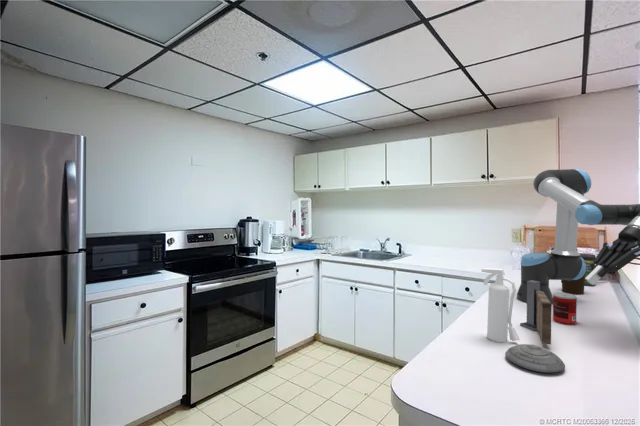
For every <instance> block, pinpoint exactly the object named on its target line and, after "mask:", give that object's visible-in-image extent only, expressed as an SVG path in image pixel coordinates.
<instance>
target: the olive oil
mask: <svg viewBox="0 0 640 426" xmlns="http://www.w3.org/2000/svg"><path fill="white" fill-rule="evenodd" d="M576 250H577V251H578V248H577V249H576ZM584 263H585V262H584ZM560 282H561V291H562V293H568V294H572V295H575V296H577V295H578V296H579V295H582V296H583V295H584V293H585V285H584V283H585V274H584V275H583V277H581V278H580V279H578V280H560Z"/></svg>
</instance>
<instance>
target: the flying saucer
mask: <svg viewBox="0 0 640 426" xmlns="http://www.w3.org/2000/svg"><path fill="white" fill-rule="evenodd" d="M504 354H505V357H506V358H507V359H508V360H509V361H510V362H512V363H513V364H515V365H517V366H519V367H521V368H524V369H527V370H530V371H534V372H539V373H559V372H562V371H564V370H565V368H566V364H565V363H564V361H563V360H562V359H561V357H559V355H557V354H556V353H554V352H553V351H550V350H549V349H548V348H545V347H541V346H539V345H535V344H530V343H529V344H527V343H523V344H521V343H520V344H516V345H513V346H511V347H508V349H507V350H506V351H505V353H504Z"/></svg>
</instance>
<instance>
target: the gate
mask: <svg viewBox="0 0 640 426" xmlns="http://www.w3.org/2000/svg"><path fill="white" fill-rule="evenodd" d="M536 296H537V329H538V333H539V336H540V340H541V344H545V345H548V346H549V345H552V304H551V303H550V301H549V300H548V298H547V296H546V295H545V293H544V292H542V291H539V290H538V291H536Z"/></svg>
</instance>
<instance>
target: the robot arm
mask: <svg viewBox="0 0 640 426" xmlns="http://www.w3.org/2000/svg"><path fill="white" fill-rule="evenodd" d="M591 188H592V179H591V176H590V175H589V174H588V172H587V171H585V170H583V169H576V168H571V169H568V168H567V169H547V170H544V171H543V170H542V171H541V172H540V173H538V174H537V175H536V176H535V178H534V180H533V189H534V190H535V192H537V193H538V194H539V195H540V196H542V197H548V198H550V199H551V200H553V201H554V202H556V215H555V216H556V219H555V235H554V236H555V237H554V248H553V249H552V250H550V255H549V253H546V252H532V253H531V252H529V253H526V254H523V255H522V256H521V260H520V285H519V288H518V291H516V292H517V293H516V299H517V300H518V301H521V302H523V303H527V281H530V280H534V281H538V282H540V291H542V292H544V293H545V295H546V296H547V298H548V300H549V301H550V303H551V305H553V294H552V291H551V289H550V281H561V280H578V279H580V278H581V277H583V275H584V274H585V271H586V263H584V262H585V261H584V259H583V258H582V257H580V252H579V251H578V245H577V244H578V232H579V230H578V229H579V228H578V227H579V224H580V225H588V226H597V225H598V226H601V225H602V226H603V225H611V226H617V225H618V226H624V228H623V229H621V231H620V232H619V233H618V236H617V237H618V238H617V239H615V240H613V241H612V242H611V243H608V242H604V243H602V248H601V249H600V251H599V253H598V254H597V255H596V256H595V257H596V258H595V260H594V261H593V262H594V263H595V268H594V269H593V270H592V271H591V273H590V274H589V275H588V276H587V277H586V278H585V279H586V280H587V281H588V282H589V283H590V284H592V285H594V284H595V285H596V283H598V282H599V281H600V280H601V278H603V277H605V276H606V275H607V274H608V273H609V272H612V271H614V272H618V271H620V270H621V269H622V268H624V267H625V266H626V265H628V264H630V263H631V262H632V261H634V260H636V259H637V258H639V257H640V203H634V204H601V203H599V202H596V201H594V200H592V199H591V198H589V197H587V196H586V194H587V193H589V191H590V189H591ZM576 249H577V250H576Z"/></svg>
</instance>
